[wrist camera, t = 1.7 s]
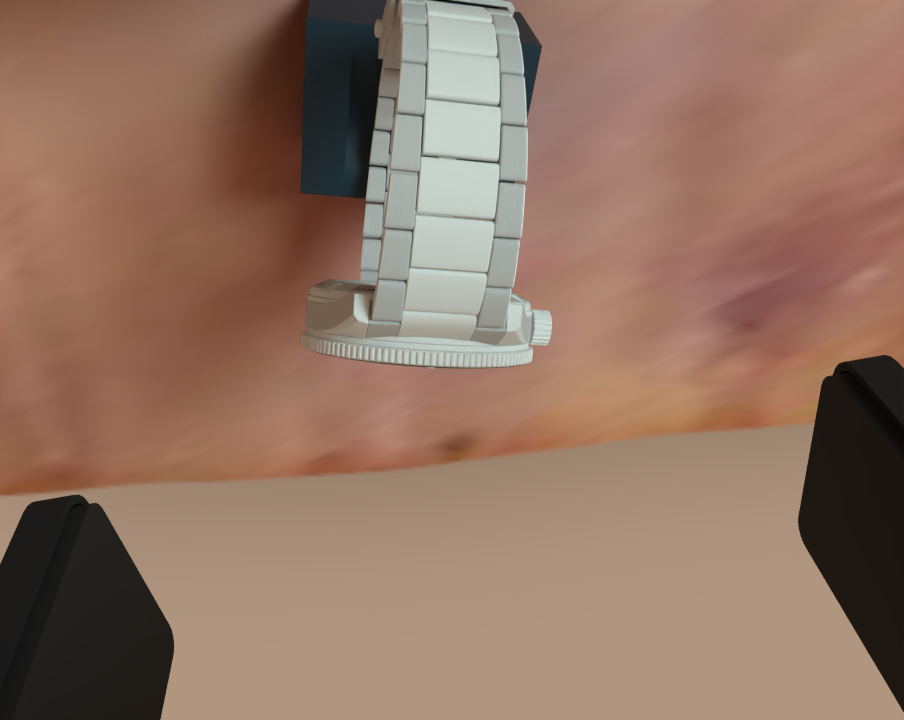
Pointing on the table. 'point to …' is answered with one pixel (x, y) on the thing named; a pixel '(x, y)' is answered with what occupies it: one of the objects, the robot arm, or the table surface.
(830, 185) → the table surface
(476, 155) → the watch
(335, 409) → the table surface
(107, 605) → the robot arm
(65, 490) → the table surface
